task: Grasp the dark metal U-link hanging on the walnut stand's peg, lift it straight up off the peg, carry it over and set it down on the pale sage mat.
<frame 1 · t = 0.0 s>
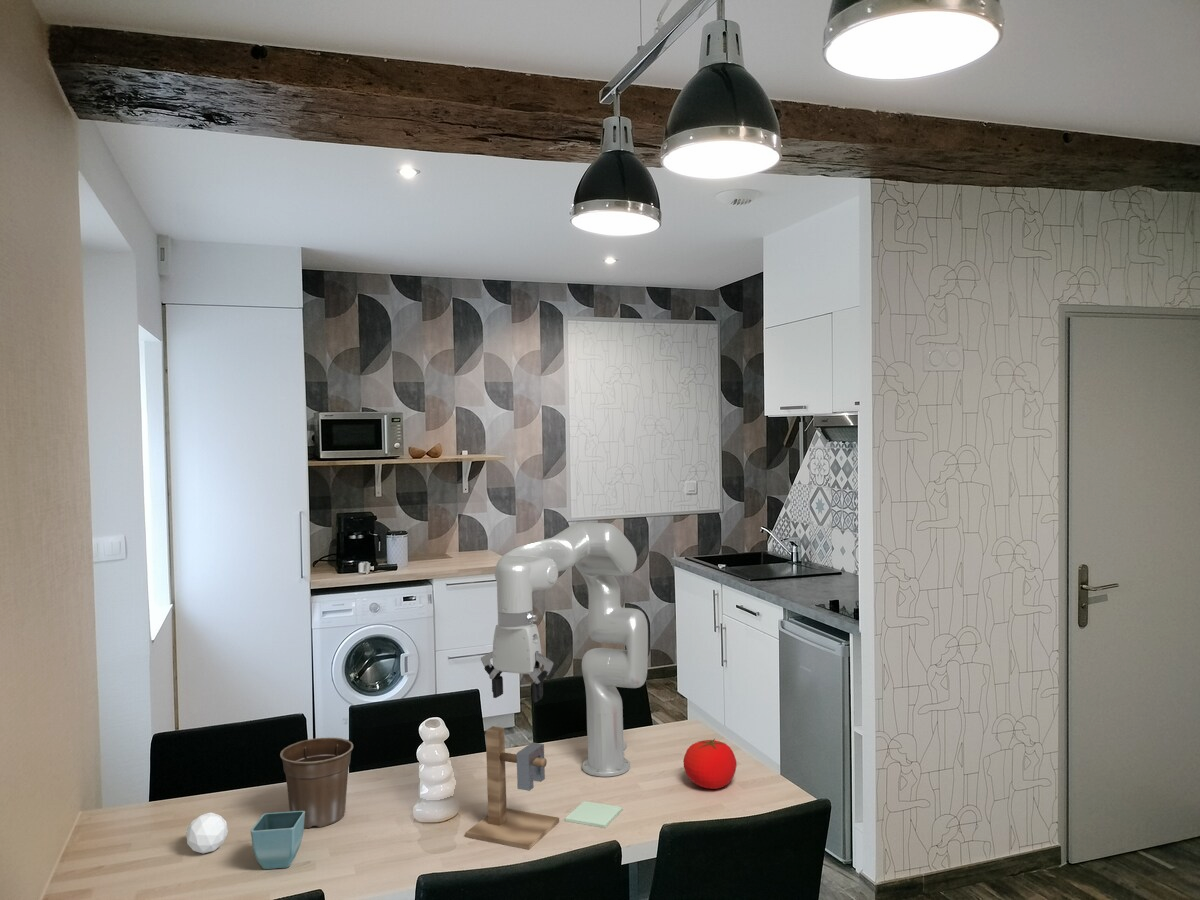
hand: (517, 698, 180), 31 cm above the table, tool pointing down, fingers open, 9 cm apart
plant pot: (319, 818, 195), on the table
tomato: (710, 785, 208), on the table
white faceted egg: (203, 849, 181), on the table
stand: (497, 826, 188), on the table
flower pot: (279, 864, 174), on the table
link: (531, 783, 184), point 11 cm above the table, touching stand
mat: (594, 815, 192), on the table
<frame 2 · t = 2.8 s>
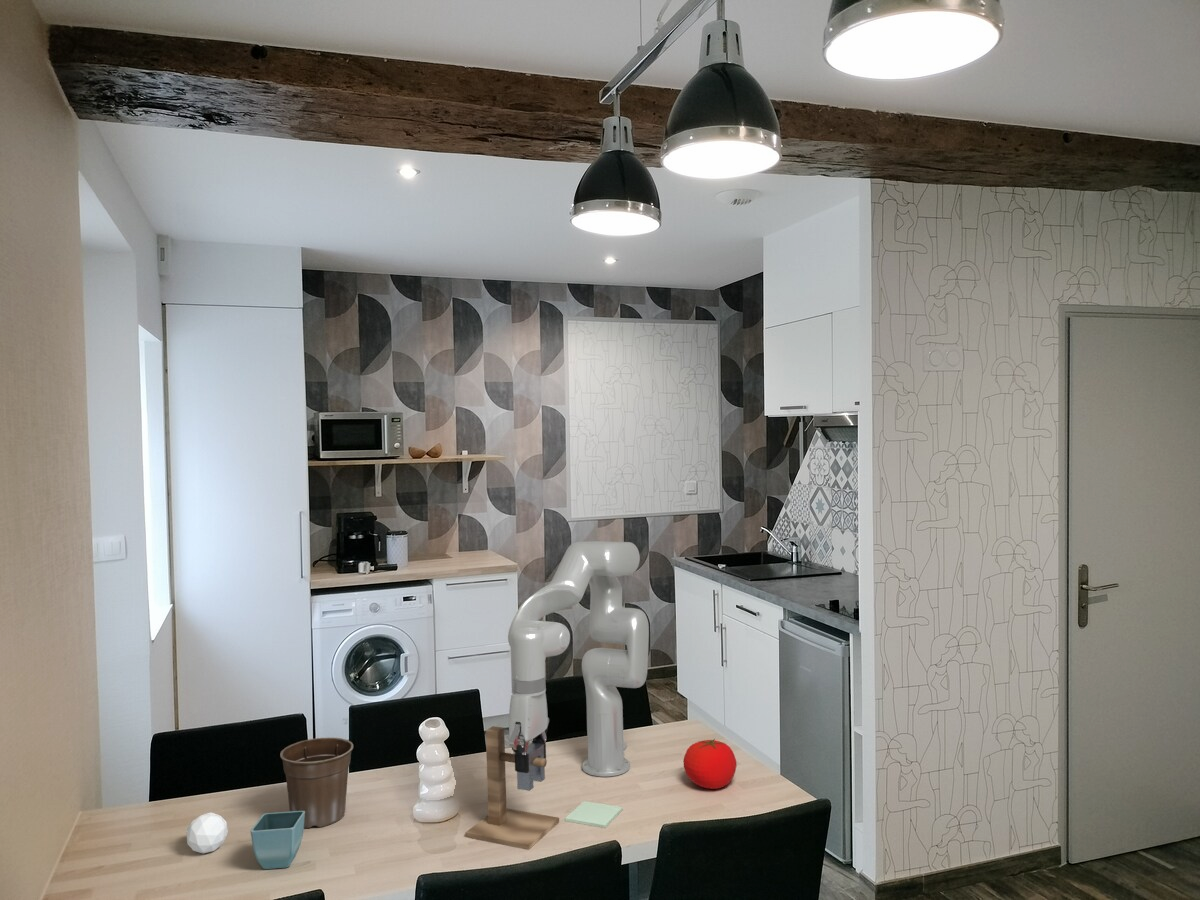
hand: (530, 764, 184), 15 cm above the table, tool pointing down, fingers closed on link, 7 cm apart
link: (531, 783, 184), point 11 cm above the table, touching gripper, stand
everything else where it was.
when the fingers open (6 cm above the table, at t = 11.3 s): link stays where it is, resting on mat.
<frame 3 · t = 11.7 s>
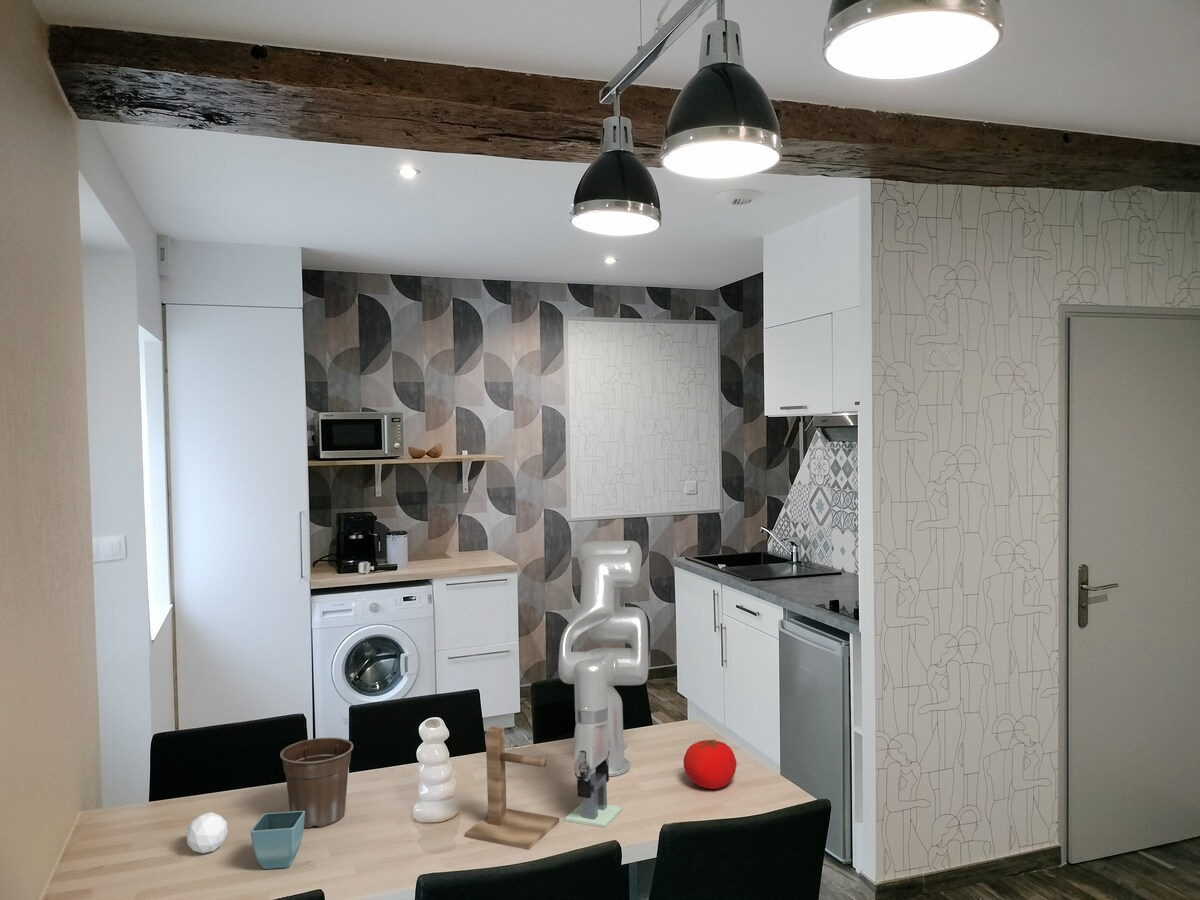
hand: (593, 788, 192), 6 cm above the table, tool pointing down, fingers open, 9 cm apart
link: (594, 812, 192), point 1 cm above the table, touching mat
everything else where it was.
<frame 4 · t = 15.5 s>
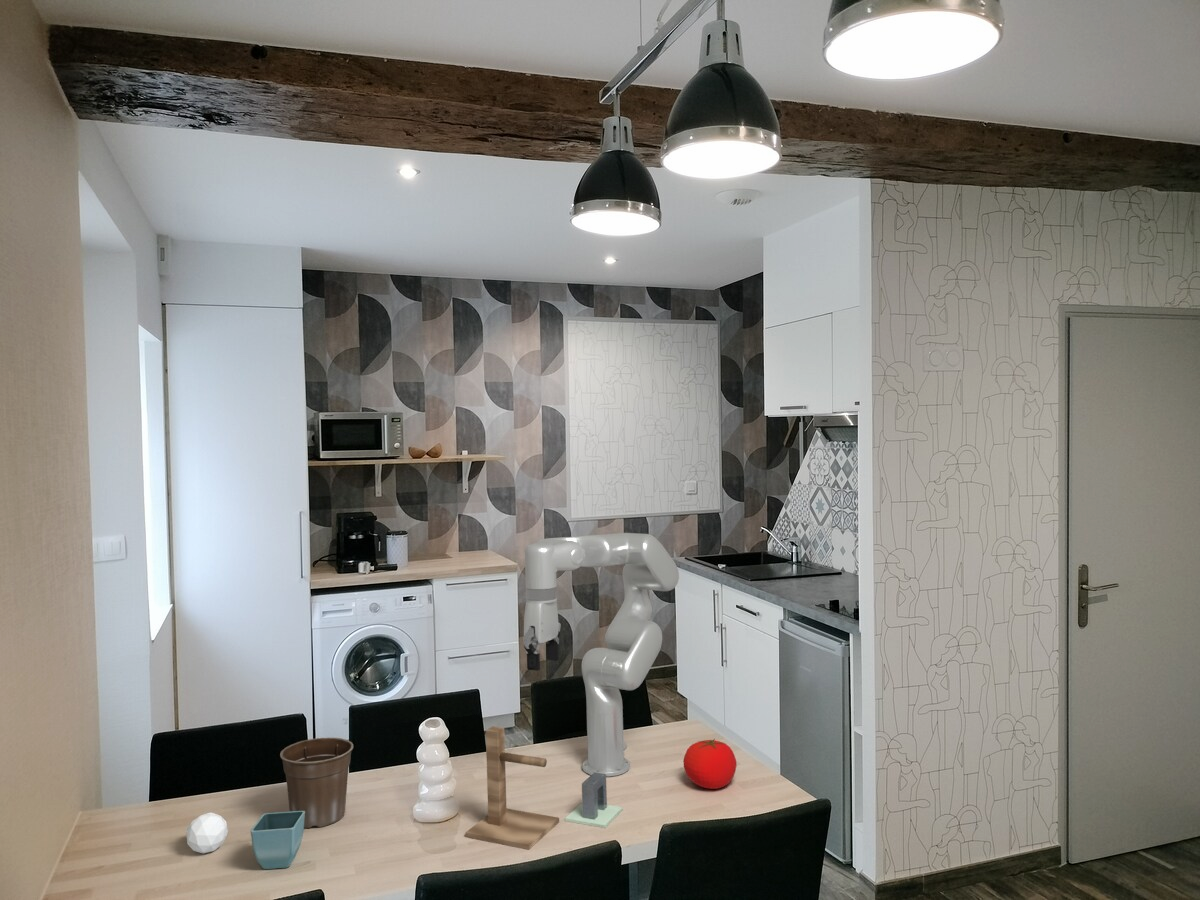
hand: (543, 664, 203), 32 cm above the table, tool pointing down, fingers open, 9 cm apart
nothing on the table moved.
at the end: link inside the target area on the mat (0.2 cm from its centre), point 0.6 cm above the mat's base; link touching mat; the gripper is holding nothing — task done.
